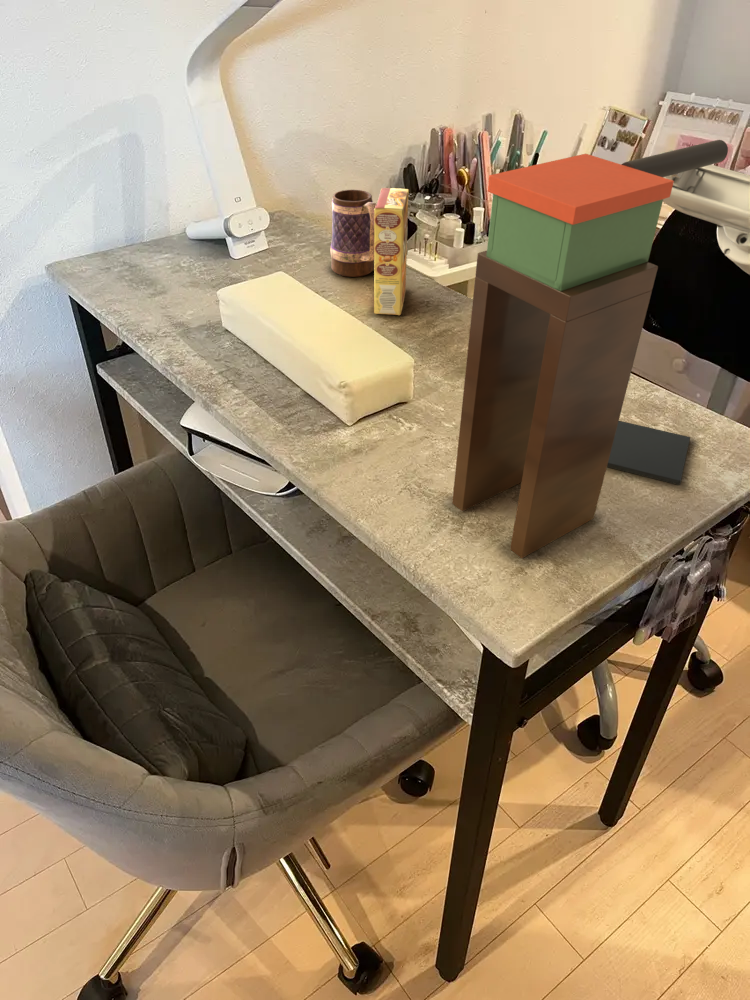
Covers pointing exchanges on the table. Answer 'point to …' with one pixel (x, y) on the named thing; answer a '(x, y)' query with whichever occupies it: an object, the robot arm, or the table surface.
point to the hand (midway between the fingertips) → (716, 172)
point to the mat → (649, 452)
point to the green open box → (569, 242)
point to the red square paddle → (600, 182)
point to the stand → (546, 393)
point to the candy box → (390, 250)
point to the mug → (352, 233)
